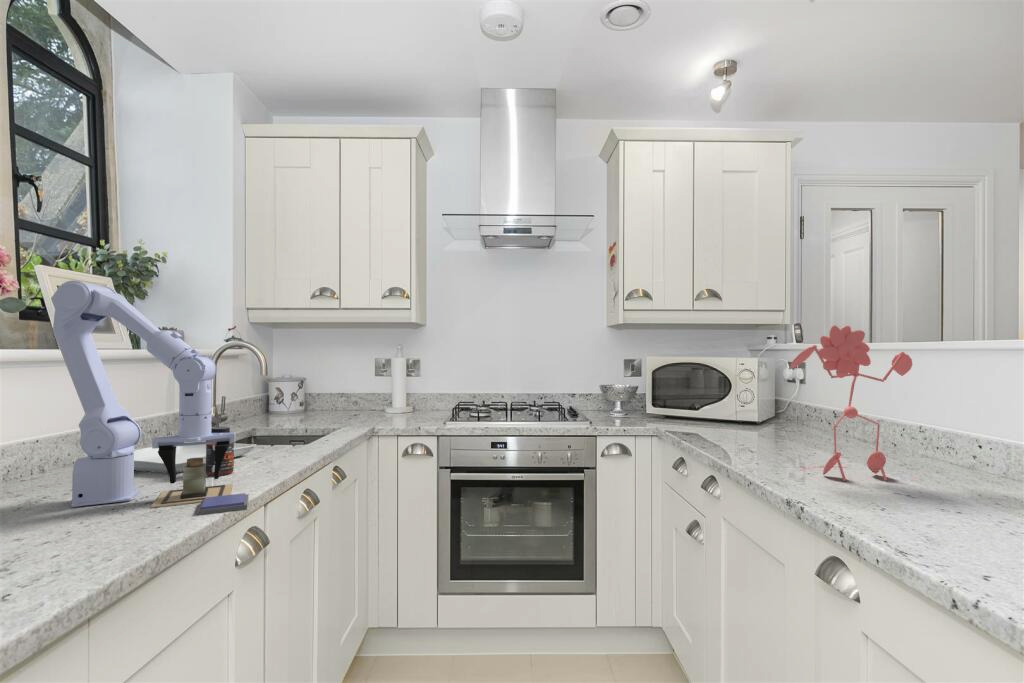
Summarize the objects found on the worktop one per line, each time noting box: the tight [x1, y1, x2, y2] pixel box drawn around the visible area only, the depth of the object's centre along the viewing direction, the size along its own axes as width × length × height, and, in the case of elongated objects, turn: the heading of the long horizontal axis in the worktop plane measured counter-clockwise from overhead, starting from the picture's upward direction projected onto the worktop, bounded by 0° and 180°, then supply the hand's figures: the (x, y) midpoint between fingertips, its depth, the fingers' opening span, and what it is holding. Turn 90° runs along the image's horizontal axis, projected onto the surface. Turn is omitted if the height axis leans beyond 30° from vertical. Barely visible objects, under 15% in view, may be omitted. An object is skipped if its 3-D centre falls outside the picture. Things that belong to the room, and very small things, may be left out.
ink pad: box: [196, 492, 249, 516], centre depth 98 cm, size 8×8×1 cm
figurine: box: [788, 325, 916, 482], centre depth 121 cm, size 15×26×35 cm, turn 90°
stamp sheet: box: [150, 483, 234, 509], centre depth 105 cm, size 13×12×1 cm
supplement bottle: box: [206, 426, 235, 477], centre depth 125 cm, size 6×6×11 cm
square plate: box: [134, 442, 257, 473], centre depth 138 cm, size 27×27×4 cm
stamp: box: [180, 458, 209, 499], centre depth 105 cm, size 4×4×7 cm
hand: (195, 480), depth 106 cm, fingers open, 7 cm apart
